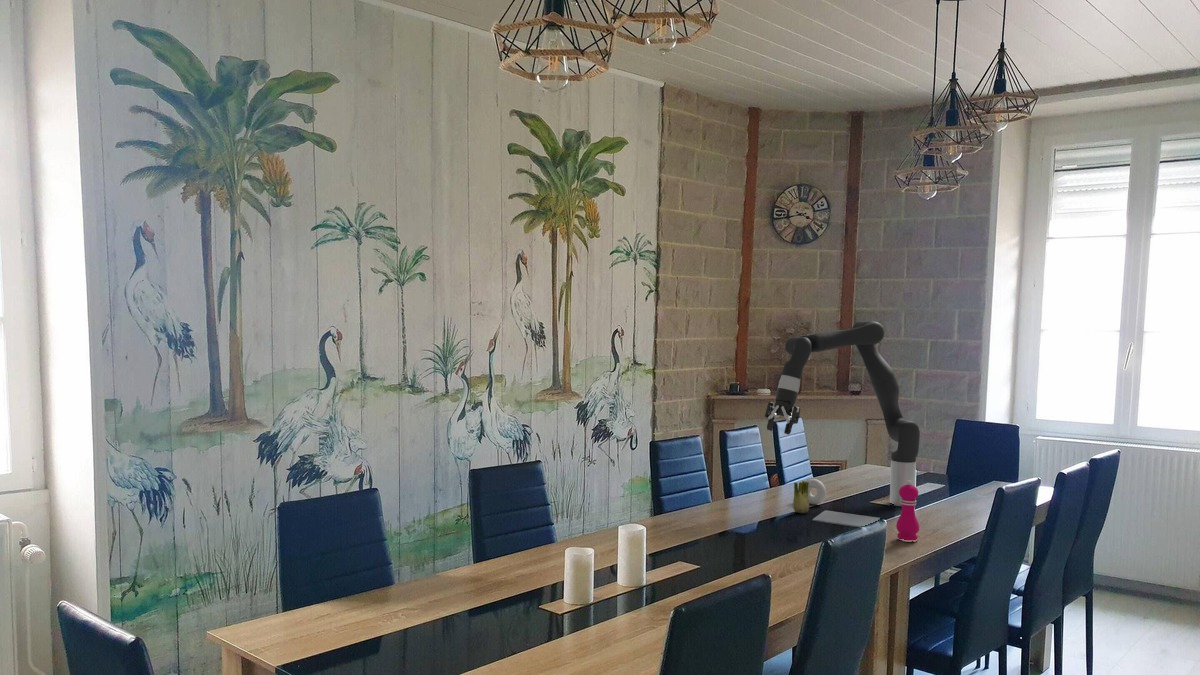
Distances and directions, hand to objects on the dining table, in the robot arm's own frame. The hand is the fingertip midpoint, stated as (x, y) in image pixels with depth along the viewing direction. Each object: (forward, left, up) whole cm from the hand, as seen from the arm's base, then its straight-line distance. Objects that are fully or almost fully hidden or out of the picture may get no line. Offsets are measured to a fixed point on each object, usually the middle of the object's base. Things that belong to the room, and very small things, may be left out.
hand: (777, 432), depth 308 cm
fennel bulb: (-8, +7, -31) cm, 33 cm away
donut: (-24, +7, -31) cm, 40 cm away
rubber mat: (-7, +24, -31) cm, 39 cm away
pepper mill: (+8, +48, -31) cm, 57 cm away
